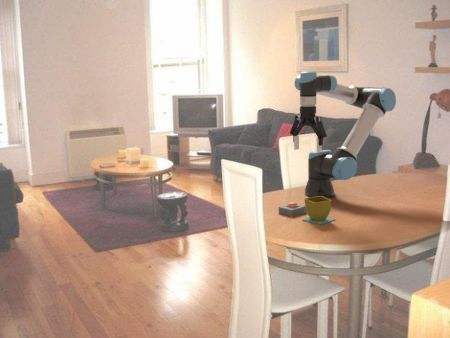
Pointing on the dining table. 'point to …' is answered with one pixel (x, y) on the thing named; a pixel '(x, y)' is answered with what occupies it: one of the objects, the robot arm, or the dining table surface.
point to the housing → (292, 210)
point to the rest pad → (318, 220)
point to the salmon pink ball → (292, 204)
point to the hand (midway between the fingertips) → (307, 150)
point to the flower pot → (318, 207)
